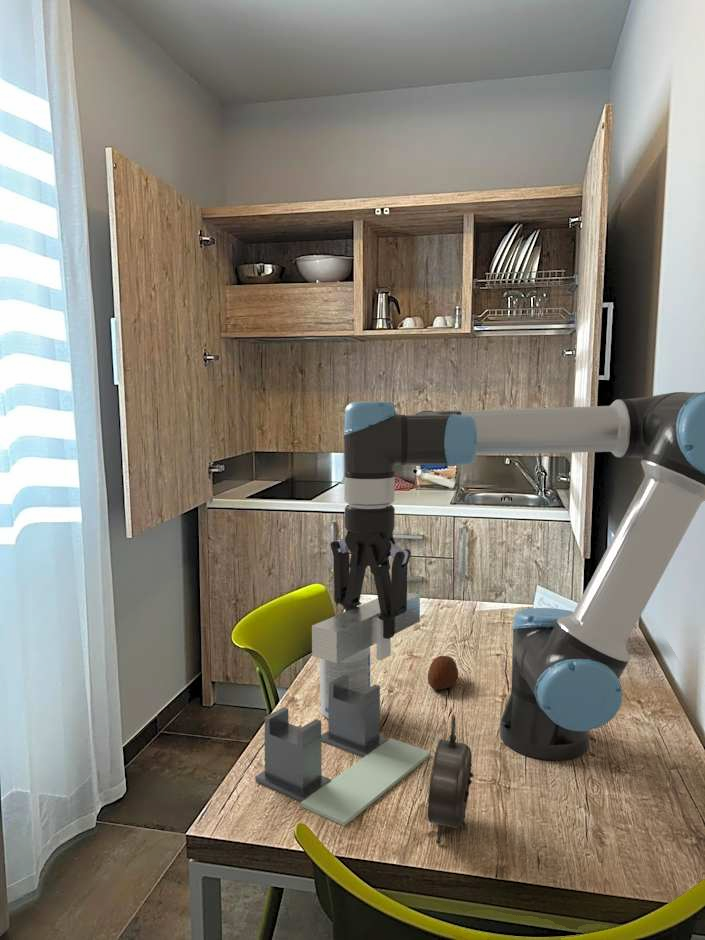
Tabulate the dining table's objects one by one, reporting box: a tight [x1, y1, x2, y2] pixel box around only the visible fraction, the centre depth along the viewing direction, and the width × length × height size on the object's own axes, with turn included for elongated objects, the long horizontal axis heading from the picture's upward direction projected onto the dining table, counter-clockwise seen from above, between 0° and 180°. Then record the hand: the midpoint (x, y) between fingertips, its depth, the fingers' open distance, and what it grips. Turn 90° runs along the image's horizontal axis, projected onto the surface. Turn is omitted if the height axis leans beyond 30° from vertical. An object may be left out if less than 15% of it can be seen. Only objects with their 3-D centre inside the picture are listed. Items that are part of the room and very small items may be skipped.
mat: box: [300, 737, 431, 827], centre depth 111 cm, size 8×24×1 cm, turn 144°
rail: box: [311, 591, 421, 663], centre depth 108 cm, size 4×22×4 cm, turn 143°
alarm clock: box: [427, 714, 474, 845], centre depth 98 cm, size 11×5×16 cm, turn 164°
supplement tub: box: [319, 646, 371, 719], centre depth 133 cm, size 10×10×15 cm
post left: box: [254, 706, 332, 803], centre depth 109 cm, size 10×6×10 cm, turn 54°
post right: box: [321, 675, 389, 758], centre depth 122 cm, size 10×6×10 cm, turn 54°
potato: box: [427, 655, 459, 690], centre depth 146 cm, size 6×12×6 cm, turn 161°
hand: (369, 653), depth 109 cm, fingers closed on rail, 4 cm apart
